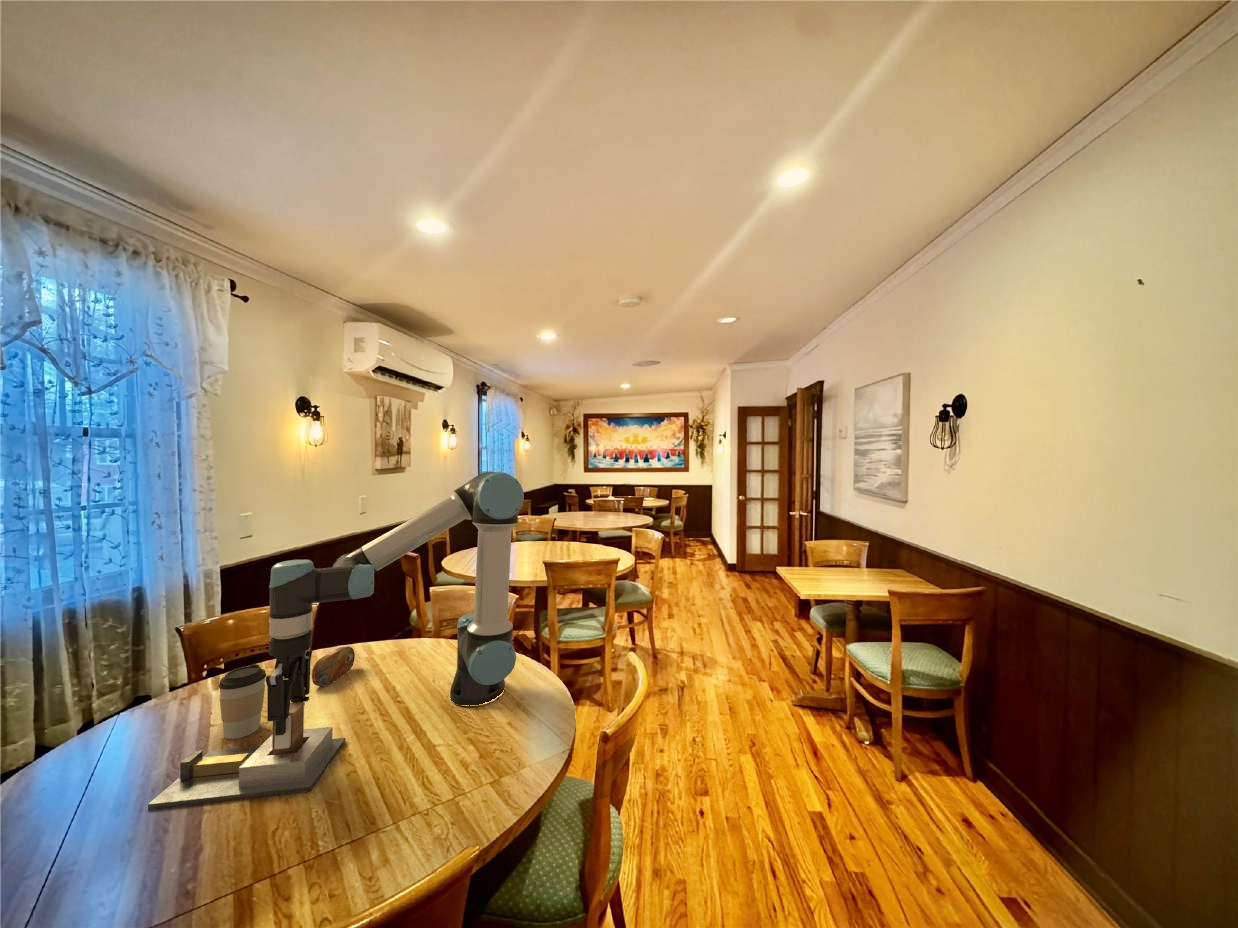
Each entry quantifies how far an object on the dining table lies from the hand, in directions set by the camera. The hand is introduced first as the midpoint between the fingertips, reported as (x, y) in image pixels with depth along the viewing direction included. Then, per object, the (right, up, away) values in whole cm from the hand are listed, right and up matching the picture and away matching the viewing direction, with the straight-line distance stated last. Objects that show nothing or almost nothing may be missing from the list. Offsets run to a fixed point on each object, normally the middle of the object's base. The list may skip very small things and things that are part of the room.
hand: (289, 739), depth 94 cm
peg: (0, -5, 0) cm, 5 cm away
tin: (-16, -7, +40) cm, 43 cm away
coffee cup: (-22, -6, +13) cm, 26 cm away
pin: (-14, -5, -3) cm, 15 cm away
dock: (-6, -6, -1) cm, 9 cm away
